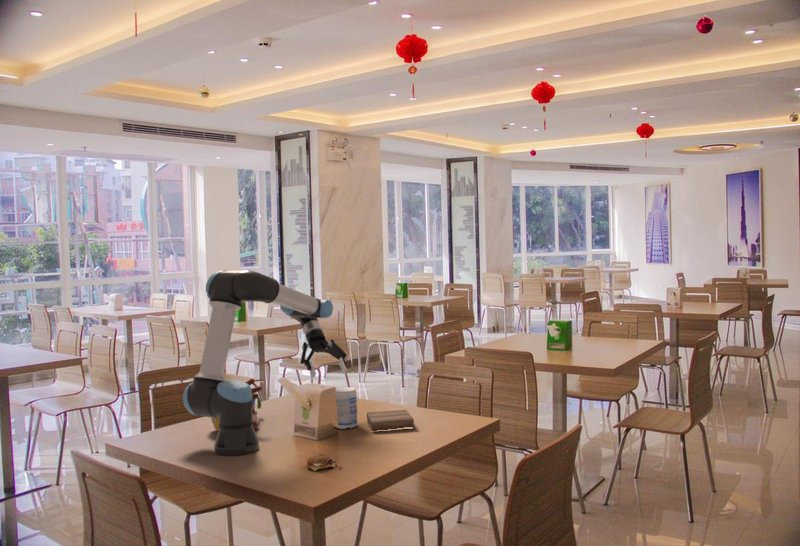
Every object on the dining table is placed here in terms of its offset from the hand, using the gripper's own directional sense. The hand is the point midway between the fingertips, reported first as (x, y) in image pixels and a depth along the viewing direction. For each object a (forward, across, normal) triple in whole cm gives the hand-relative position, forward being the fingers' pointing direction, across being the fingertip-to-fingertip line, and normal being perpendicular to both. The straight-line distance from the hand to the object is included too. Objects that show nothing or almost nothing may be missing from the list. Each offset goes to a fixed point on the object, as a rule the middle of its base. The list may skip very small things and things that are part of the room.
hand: (330, 373), depth 281 cm
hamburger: (+53, +28, +26) cm, 65 cm away
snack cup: (-2, +30, -29) cm, 42 cm away
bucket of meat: (+2, +46, -15) cm, 49 cm away
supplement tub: (+23, 0, -4) cm, 23 cm away
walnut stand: (+30, -14, +3) cm, 33 cm away
